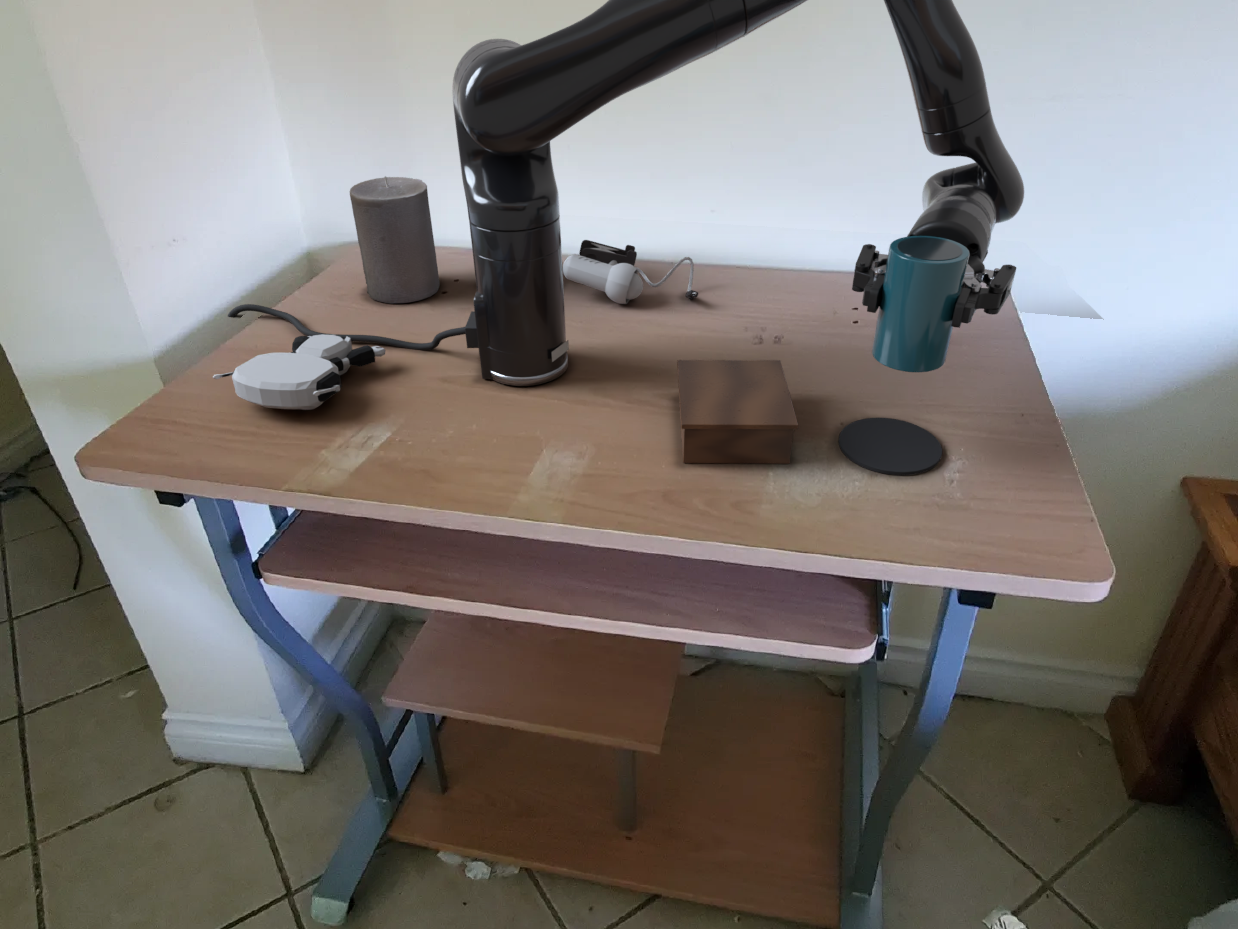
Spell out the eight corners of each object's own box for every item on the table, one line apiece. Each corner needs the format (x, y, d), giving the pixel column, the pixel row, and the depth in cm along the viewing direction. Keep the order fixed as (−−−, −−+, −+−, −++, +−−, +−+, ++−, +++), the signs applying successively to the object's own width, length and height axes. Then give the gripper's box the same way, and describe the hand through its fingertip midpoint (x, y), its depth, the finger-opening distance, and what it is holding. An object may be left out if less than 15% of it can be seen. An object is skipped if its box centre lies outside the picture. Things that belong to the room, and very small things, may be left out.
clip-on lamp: (701, 302, 118) (579, 263, 120) (714, 259, 115) (588, 218, 117) (684, 331, 108) (552, 287, 110) (698, 284, 105) (561, 240, 107)
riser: (680, 465, 81) (681, 424, 78) (676, 397, 91) (677, 359, 89) (793, 465, 80) (798, 424, 78) (776, 398, 91) (780, 360, 88)
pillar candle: (352, 293, 115) (329, 180, 106) (406, 270, 121) (388, 161, 113) (403, 310, 110) (383, 193, 102) (456, 285, 117) (442, 173, 108)
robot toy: (304, 357, 101) (216, 412, 89) (297, 321, 99) (206, 372, 87) (396, 372, 98) (318, 430, 86) (391, 334, 96) (310, 389, 84)
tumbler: (880, 373, 75) (899, 262, 69) (865, 339, 80) (882, 234, 74) (954, 372, 75) (980, 262, 69) (934, 339, 80) (956, 234, 74)
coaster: (849, 475, 79) (849, 471, 79) (830, 420, 87) (831, 417, 87) (954, 475, 79) (955, 472, 79) (926, 420, 87) (926, 417, 86)
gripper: (879, 197, 85) (835, 254, 73) (1035, 216, 80) (1016, 281, 68) (868, 269, 90) (825, 334, 77) (1015, 292, 84) (994, 365, 72)
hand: (914, 309), depth 73 cm, fingers closed on tumbler, 6 cm apart
